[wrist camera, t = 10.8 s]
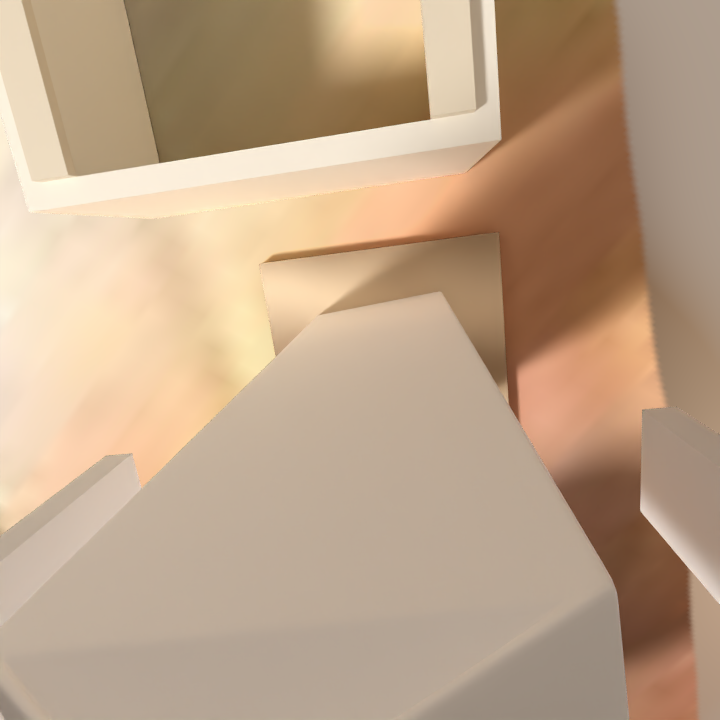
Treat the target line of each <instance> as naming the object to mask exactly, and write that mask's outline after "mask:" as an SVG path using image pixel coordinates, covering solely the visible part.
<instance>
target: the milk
mask: <svg viewBox="0 0 720 720" xmlns="http://www.w3.org/2000/svg"><path fill="white" fill-rule="evenodd" d="M0 711H1V713H2V715H3V717H4V719H5V720H629V712H628V701H627V690H626V679H625V668H624V657H623V647H622V636H621V625H620V614H619V604H618V596H617V592H616V588H615V585H614V583H613V580H612V578H611V576H610V575H609V573H608V571H607V569H606V568H605V566H604V564H603V562H602V561H601V559H600V557H599V556H598V554H597V552H596V551H595V549H594V547H593V546H592V544H591V542H590V541H589V539H588V537H587V535H586V534H585V532H584V530H583V529H582V527H581V525H580V524H579V522H578V520H577V519H576V517H575V515H574V514H573V512H572V510H571V509H570V507H569V505H568V504H567V502H566V500H565V499H564V497H563V495H562V493H561V492H560V490H559V488H558V487H557V485H556V483H555V482H554V480H553V478H552V477H551V475H550V473H549V472H548V470H547V468H546V467H545V465H544V463H543V462H542V460H541V458H540V456H539V455H538V453H537V451H536V450H535V448H534V446H533V445H532V443H531V441H530V440H529V438H528V436H527V435H526V433H525V431H524V430H523V428H522V426H521V425H520V423H519V421H518V420H517V418H516V416H515V414H514V413H513V411H512V409H511V408H510V406H509V404H508V403H507V401H506V399H505V398H504V396H503V394H502V393H501V391H500V389H499V388H498V386H497V384H496V383H495V381H494V379H493V377H492V376H491V374H490V372H489V371H488V369H487V367H486V366H485V364H484V362H483V361H482V359H481V357H480V356H479V354H478V352H477V351H476V349H475V347H474V346H473V344H472V342H471V341H470V339H469V337H468V335H467V334H466V332H465V330H464V329H463V327H462V325H461V324H460V322H459V320H458V319H457V317H456V315H455V314H454V312H453V310H452V309H451V307H450V305H449V304H448V302H447V300H446V298H445V297H444V295H443V293H442V292H440V291H438V292H433V293H428V294H423V295H418V296H413V297H408V298H403V299H398V300H393V301H388V302H383V303H377V304H372V305H367V306H362V307H357V308H352V309H347V310H342V311H337V312H332V313H327V314H322V315H318V316H317V317H316V318H315V319H314V320H313V321H312V322H311V323H310V324H309V325H308V326H307V327H306V328H305V329H304V330H302V331H301V332H300V333H299V334H298V335H297V336H296V337H295V338H294V339H293V340H292V341H291V342H290V343H289V344H288V345H287V346H286V347H285V348H284V349H283V350H282V351H281V352H280V353H279V354H278V355H277V356H276V357H275V358H274V359H273V360H272V361H271V362H270V363H269V364H268V365H267V366H266V367H265V368H264V369H263V370H262V371H261V372H260V373H259V374H258V375H257V376H256V377H255V378H254V379H253V380H252V381H251V382H250V383H249V384H247V385H246V386H245V387H244V388H243V389H242V390H241V391H240V392H239V393H238V394H237V395H236V396H235V397H234V398H233V399H232V400H231V401H230V402H229V403H228V404H227V405H226V406H225V407H224V408H223V409H222V410H221V411H220V412H219V413H218V414H217V415H216V416H215V417H214V418H213V419H212V420H211V421H210V422H209V423H208V424H207V425H206V426H205V427H204V428H203V429H202V430H201V431H200V432H199V433H198V434H197V435H196V436H195V437H194V438H193V439H191V440H190V441H189V442H188V443H187V444H186V445H185V446H184V447H183V448H182V449H181V450H180V451H179V452H178V453H177V454H176V455H175V456H174V457H173V458H172V459H171V460H170V461H169V462H168V463H167V464H166V465H165V466H164V467H163V468H162V469H161V470H160V471H159V472H158V473H157V474H156V475H155V476H154V477H153V478H152V479H151V480H150V481H149V482H148V483H147V484H146V485H145V486H144V487H143V488H142V489H141V490H140V491H139V492H138V493H137V494H135V495H134V496H133V497H132V498H131V499H130V500H129V501H128V502H127V503H126V504H125V505H124V506H123V507H122V508H121V509H120V510H119V511H118V512H117V513H116V514H115V515H114V516H113V517H112V518H111V519H110V520H109V521H108V522H107V523H106V524H105V525H104V526H103V527H102V528H101V529H100V530H99V531H98V532H97V533H96V534H95V535H94V536H93V537H92V538H91V539H90V540H89V541H88V542H87V543H86V544H85V545H84V546H83V547H82V548H81V549H79V550H78V551H77V552H76V553H75V554H74V555H73V556H72V557H71V558H70V559H69V560H68V561H67V562H66V563H65V564H64V565H63V566H62V567H61V568H60V569H59V570H58V571H57V572H56V573H55V574H54V575H53V576H52V577H51V578H50V579H49V580H48V581H47V582H46V583H45V584H44V585H43V586H42V587H41V588H40V589H39V590H38V591H37V592H36V593H35V594H34V595H33V596H32V597H31V598H30V599H29V600H28V601H27V602H26V603H25V604H23V605H22V606H21V607H20V608H19V609H18V610H17V611H16V612H15V613H14V614H13V615H12V616H11V617H10V618H9V619H8V620H7V621H6V622H5V623H4V624H3V625H2V626H1V627H0Z"/></svg>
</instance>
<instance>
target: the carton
mask: <svg viewBox="0 0 720 720" xmlns="http://www.w3.org/2000/svg"><path fill="white" fill-rule="evenodd" d="M420 2H421V14H422V25H423V37H424V49H425V60H426V72H427V84H428V96H429V107H430V119H431V120H425V121H418V122H412V123H406V124H400V125H394V126H387V127H381V128H375V129H369V130H363V131H357V132H350V133H344V134H338V135H332V136H326V137H319V138H313V139H307V140H301V141H295V142H288V143H282V144H276V145H270V146H264V147H258V148H251V149H245V150H239V151H233V152H227V153H220V154H214V155H208V156H202V157H196V158H190V159H183V160H177V161H171V162H165V163H160V162H159V158H158V153H157V149H156V144H155V140H154V135H153V131H152V126H151V122H150V117H149V113H148V108H147V104H146V99H145V95H144V90H143V86H142V81H141V76H140V72H139V67H138V63H137V58H136V54H135V49H134V45H133V40H132V36H131V31H130V27H129V22H128V18H127V13H126V9H125V4H124V0H0V115H1V119H2V122H3V126H4V129H5V133H6V136H7V139H8V143H9V146H10V150H11V153H12V156H13V160H14V163H15V167H16V170H17V173H18V177H19V180H20V184H21V187H22V191H23V194H24V197H25V201H26V204H27V208H28V211H29V212H32V213H52V214H72V215H92V216H112V217H132V218H152V219H157V218H164V217H171V216H177V215H184V214H191V213H198V212H205V211H211V210H218V209H225V208H232V207H238V206H245V205H252V204H259V203H266V202H272V201H279V200H286V199H293V198H300V197H306V196H313V195H320V194H327V193H334V192H340V191H347V190H354V189H361V188H367V187H374V186H381V185H388V184H395V183H401V182H408V181H415V180H422V179H429V178H435V177H442V176H449V175H456V174H463V173H466V172H467V171H468V170H469V169H470V168H471V167H472V166H473V165H475V164H476V163H477V162H478V161H479V160H480V159H481V158H482V157H483V156H484V155H485V154H486V153H487V152H489V151H490V150H491V149H492V148H493V147H494V146H495V145H496V144H497V143H498V142H499V141H500V140H501V122H500V102H499V83H498V63H497V44H496V25H495V5H494V0H420Z"/></svg>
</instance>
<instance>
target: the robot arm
mask: <svg viewBox="0 0 720 720" xmlns="http://www.w3.org/2000/svg"><path fill="white" fill-rule="evenodd" d="M141 489H142V488H141V485H140V481H139V477H138V474H137V470H136V466H135V463H134V459H133V455H132V454H121V455H109V456H105V457H104V458H102V459H101V460H100V461H98V462H97V463H96V464H94V465H93V466H92V467H90V468H89V469H88V470H86V471H85V472H84V473H83V474H81V475H80V476H79V477H77V478H76V479H75V480H73V481H72V482H71V483H69V484H68V485H67V486H65V487H64V488H63V489H61V490H60V491H59V492H57V493H56V494H55V495H53V496H52V497H51V498H50V499H48V500H47V501H46V502H44V503H43V504H42V505H40V506H39V507H38V508H36V509H35V510H34V511H32V512H31V513H30V514H28V515H27V516H26V517H24V518H23V519H22V520H20V521H19V522H18V523H16V524H15V525H14V526H13V527H11V528H10V529H9V530H7V531H6V532H5V533H3V534H2V535H1V536H0V627H1V626H2V625H3V624H4V623H5V622H6V621H7V620H8V619H9V618H10V617H11V616H12V615H13V614H14V613H15V612H16V611H17V610H18V609H19V608H20V607H21V606H22V605H23V604H25V603H26V602H27V601H28V600H29V599H30V598H31V597H32V596H33V595H34V594H35V593H36V592H37V591H38V590H39V589H40V588H41V587H42V586H43V585H44V584H45V583H46V582H47V581H48V580H49V579H50V578H51V577H52V576H53V575H54V574H55V573H56V572H57V571H58V570H59V569H60V568H61V567H62V566H63V565H64V564H65V563H66V562H67V561H68V560H69V559H70V558H71V557H72V556H73V555H74V554H75V553H76V552H77V551H78V550H79V549H81V548H82V547H83V546H84V545H85V544H86V543H87V542H88V541H89V540H90V539H91V538H92V537H93V536H94V535H95V534H96V533H97V532H98V531H99V530H100V529H101V528H102V527H103V526H104V525H105V524H106V523H107V522H108V521H109V520H110V519H111V518H112V517H113V516H114V515H115V514H116V513H117V512H118V511H119V510H120V509H121V508H122V507H123V506H124V505H125V504H126V503H127V502H128V501H129V500H130V499H131V498H132V497H133V496H134V495H135V494H137V493H138V492H139V491H140V490H141ZM640 511H641V513H642V514H643V515H644V516H645V517H646V518H647V520H648V521H649V522H650V523H651V524H652V526H653V527H654V528H655V529H656V530H657V531H658V533H659V534H660V535H661V536H662V537H663V538H664V540H665V541H666V542H667V543H668V544H669V546H670V547H671V548H672V549H673V550H674V551H675V553H676V554H677V555H678V556H679V557H680V559H681V560H682V561H683V562H684V563H685V564H686V566H687V567H688V568H689V569H690V570H691V571H692V573H693V574H694V575H695V576H696V577H697V578H698V580H699V581H700V582H701V583H702V584H703V586H704V587H705V588H706V589H707V590H708V591H709V593H710V594H711V595H712V596H713V597H714V599H715V600H716V601H717V602H718V603H719V604H720V435H719V434H718V433H716V432H715V431H713V430H712V429H710V428H709V427H707V426H705V425H704V424H702V423H701V422H699V421H698V420H696V419H694V418H693V417H691V416H690V415H688V414H687V413H685V412H684V411H682V410H681V409H679V408H677V407H668V408H656V409H645V410H642V447H641V498H640ZM0 720H5V719H4V717H3V715H2V713H1V711H0Z"/></svg>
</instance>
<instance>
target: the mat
mask: <svg viewBox="0 0 720 720" xmlns="http://www.w3.org/2000/svg"><path fill="white" fill-rule="evenodd" d="M259 267H260V272H261V278H262V283H263V289H264V294H265V300H266V305H267V311H268V316H269V322H270V327H271V333H272V338H273V344H274V349H275V355H276V356H277V355H278V354H279V353H280V352H281V351H282V350H283V349H284V348H285V347H286V346H287V345H288V344H289V343H290V342H291V341H292V340H293V339H294V338H295V337H296V336H297V335H298V334H299V333H300V332H301V331H302V330H304V329H305V328H306V327H307V326H308V325H309V324H310V323H311V322H312V321H313V320H314V319H315V318H316V317H317V316H318V315H322V314H327V313H332V312H337V311H342V310H347V309H352V308H357V307H362V306H367V305H372V304H377V303H383V302H388V301H393V300H398V299H403V298H408V297H413V296H418V295H423V294H428V293H433V292H438V291H440V292H442V293H443V295H444V297H445V298H446V300H447V302H448V304H449V305H450V307H451V309H452V310H453V312H454V314H455V315H456V317H457V319H458V320H459V322H460V324H461V325H462V327H463V329H464V330H465V332H466V334H467V335H468V337H469V339H470V341H471V342H472V344H473V346H474V347H475V349H476V351H477V352H478V354H479V356H480V357H481V359H482V361H483V362H484V364H485V366H486V367H487V369H488V371H489V372H490V374H491V376H492V377H493V379H494V381H495V383H496V384H497V386H498V388H499V389H500V391H501V393H502V394H503V396H504V398H505V399H506V401H507V403H508V404H509V402H508V384H507V366H506V348H505V329H504V311H503V293H502V275H501V257H500V239H499V232H494V233H486V234H479V235H471V236H464V237H456V238H449V239H441V240H433V241H426V242H418V243H411V244H403V245H395V246H388V247H380V248H373V249H365V250H358V251H350V252H342V253H335V254H327V255H320V256H312V257H304V258H297V259H289V260H282V261H274V262H267V263H261V264H259Z"/></svg>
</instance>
